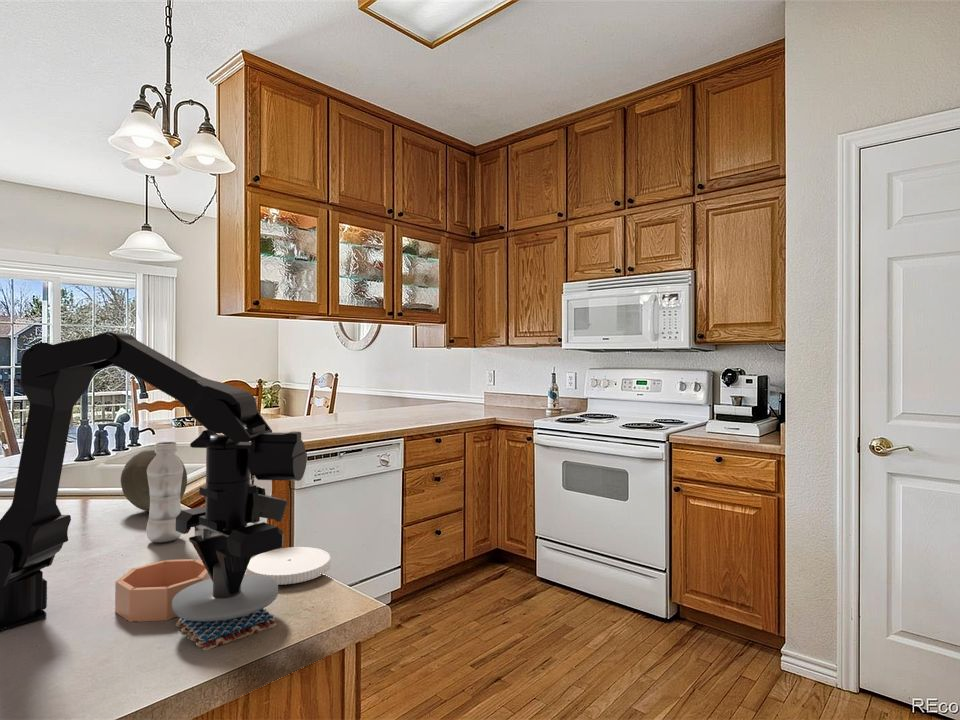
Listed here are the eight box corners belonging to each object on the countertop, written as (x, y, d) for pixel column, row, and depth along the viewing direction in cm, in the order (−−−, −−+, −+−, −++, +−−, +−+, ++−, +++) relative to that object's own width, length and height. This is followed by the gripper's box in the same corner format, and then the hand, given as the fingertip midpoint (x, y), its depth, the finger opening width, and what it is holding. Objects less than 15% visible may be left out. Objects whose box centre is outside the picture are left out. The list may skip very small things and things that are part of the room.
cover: (203, 631, 70) (203, 593, 70) (153, 601, 78) (154, 567, 78) (297, 595, 80) (298, 562, 80) (245, 572, 89) (246, 542, 89)
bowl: (140, 629, 77) (140, 596, 77) (105, 605, 85) (106, 575, 85) (224, 600, 87) (224, 571, 87) (186, 580, 94) (187, 554, 94)
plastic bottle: (188, 540, 115) (189, 443, 115) (151, 548, 110) (153, 446, 110) (177, 533, 119) (178, 439, 119) (141, 541, 114) (142, 442, 114)
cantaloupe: (192, 503, 144) (193, 444, 144) (179, 518, 130) (180, 453, 130) (130, 506, 140) (131, 446, 140) (109, 522, 126) (110, 455, 126)
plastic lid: (230, 575, 98) (231, 561, 98) (302, 554, 108) (302, 541, 108) (273, 598, 89) (273, 582, 89) (346, 573, 99) (346, 559, 99)
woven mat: (202, 657, 72) (202, 641, 72) (172, 629, 79) (173, 614, 79) (279, 629, 79) (279, 615, 79) (246, 606, 86) (246, 592, 86)
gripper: (317, 479, 80) (315, 589, 80) (245, 462, 91) (244, 559, 91) (243, 493, 71) (241, 617, 71) (174, 473, 82) (172, 579, 82)
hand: (226, 589), depth 79 cm, fingers closed on cover, 3 cm apart
